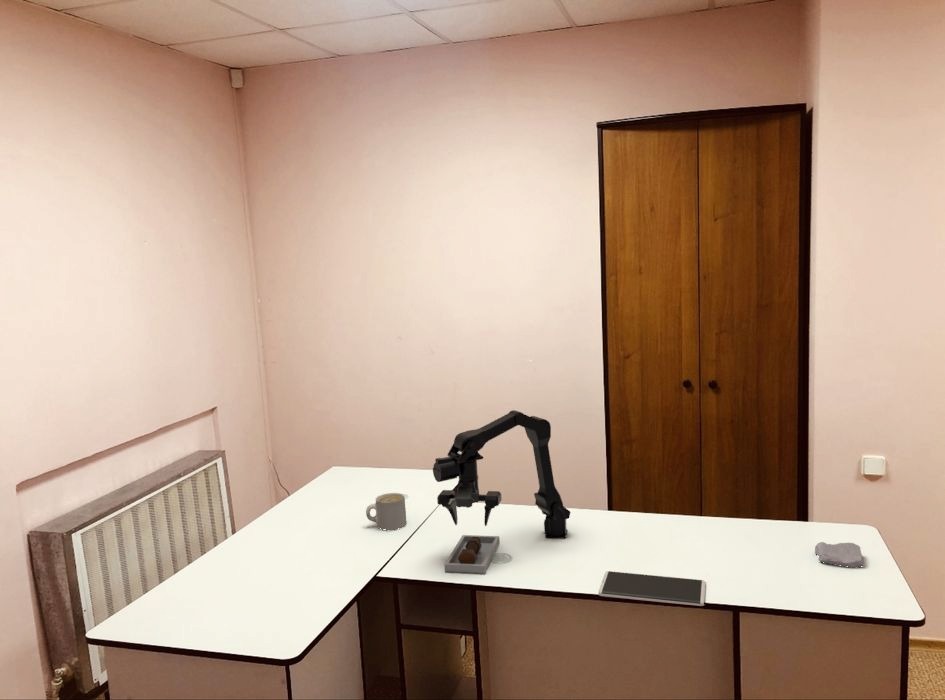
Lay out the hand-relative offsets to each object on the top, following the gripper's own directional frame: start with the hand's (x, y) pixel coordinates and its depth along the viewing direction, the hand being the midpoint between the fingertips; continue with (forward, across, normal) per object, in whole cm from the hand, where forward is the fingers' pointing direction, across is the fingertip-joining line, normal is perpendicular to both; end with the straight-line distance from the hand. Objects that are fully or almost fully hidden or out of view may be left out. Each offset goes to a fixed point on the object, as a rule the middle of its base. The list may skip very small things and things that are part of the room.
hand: (471, 525), depth 225 cm
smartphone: (+11, +53, -15) cm, 56 cm away
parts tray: (+10, 0, 0) cm, 10 cm away
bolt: (+10, 0, 0) cm, 10 cm away
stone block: (+11, +105, +8) cm, 105 cm away
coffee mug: (+11, -36, +23) cm, 44 cm away
